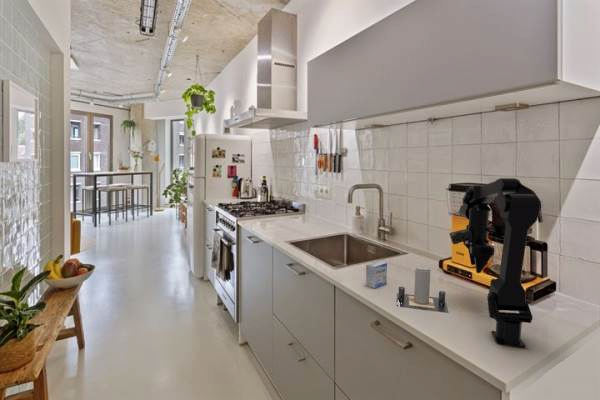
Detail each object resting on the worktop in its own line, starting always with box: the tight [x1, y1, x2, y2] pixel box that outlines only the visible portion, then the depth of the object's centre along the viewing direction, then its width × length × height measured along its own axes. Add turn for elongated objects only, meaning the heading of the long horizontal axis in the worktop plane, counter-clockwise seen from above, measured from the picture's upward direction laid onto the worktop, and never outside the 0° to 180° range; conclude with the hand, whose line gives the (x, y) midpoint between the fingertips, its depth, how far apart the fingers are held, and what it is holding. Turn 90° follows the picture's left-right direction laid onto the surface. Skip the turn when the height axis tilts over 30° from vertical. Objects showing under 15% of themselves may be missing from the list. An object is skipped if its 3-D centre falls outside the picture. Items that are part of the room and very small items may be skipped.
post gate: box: [396, 286, 450, 314], centre depth 113 cm, size 12×16×5 cm
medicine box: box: [365, 260, 388, 289], centre depth 129 cm, size 8×4×9 cm, turn 131°
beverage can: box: [413, 265, 431, 304], centre depth 112 cm, size 5×5×12 cm
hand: (475, 268), depth 111 cm, fingers open, 9 cm apart
